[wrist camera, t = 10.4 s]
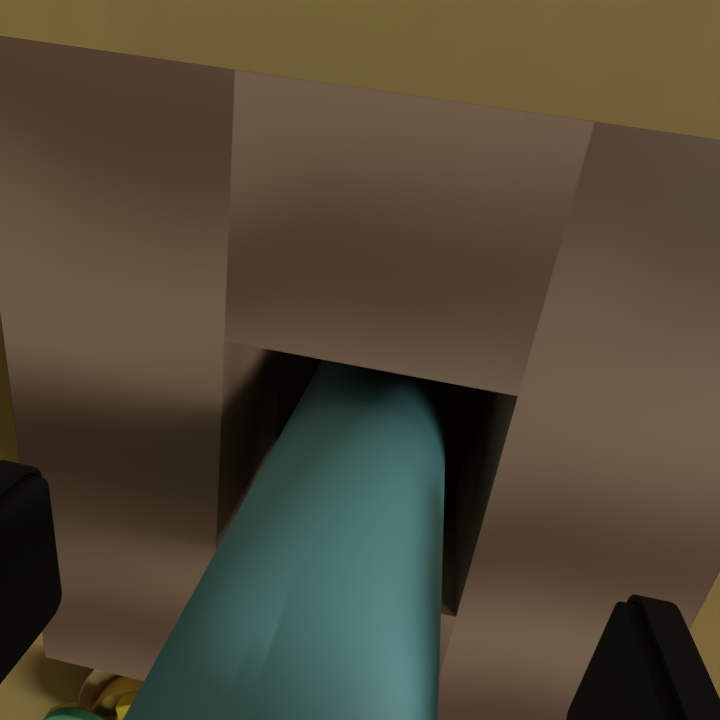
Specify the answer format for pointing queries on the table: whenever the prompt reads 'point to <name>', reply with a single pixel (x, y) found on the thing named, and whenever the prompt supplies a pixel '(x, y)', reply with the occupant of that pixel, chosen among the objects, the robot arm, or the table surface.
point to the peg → (323, 569)
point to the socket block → (359, 341)
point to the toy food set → (99, 698)
